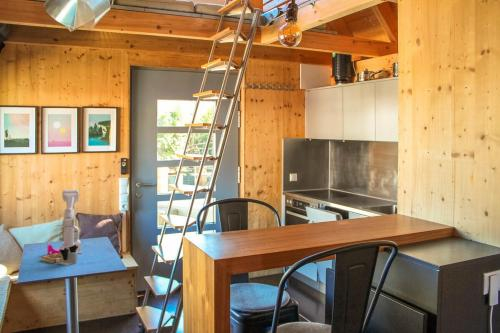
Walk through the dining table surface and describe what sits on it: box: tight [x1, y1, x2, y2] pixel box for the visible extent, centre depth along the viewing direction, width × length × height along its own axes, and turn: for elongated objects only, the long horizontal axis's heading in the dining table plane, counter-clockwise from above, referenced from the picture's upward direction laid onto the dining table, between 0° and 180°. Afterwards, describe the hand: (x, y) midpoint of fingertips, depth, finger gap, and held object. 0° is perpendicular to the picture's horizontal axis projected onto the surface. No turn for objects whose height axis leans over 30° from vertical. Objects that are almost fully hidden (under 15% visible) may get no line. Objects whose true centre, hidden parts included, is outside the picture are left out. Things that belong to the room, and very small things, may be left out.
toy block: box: [46, 244, 61, 255], centre depth 303 cm, size 15×6×8 cm, turn 124°
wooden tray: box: [40, 253, 61, 265], centre depth 285 cm, size 13×14×3 cm
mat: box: [59, 262, 73, 266], centre depth 278 cm, size 9×8×1 cm
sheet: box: [60, 253, 78, 264], centre depth 278 cm, size 1×10×6 cm, turn 79°
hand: (69, 258), depth 278 cm, fingers open, 7 cm apart
